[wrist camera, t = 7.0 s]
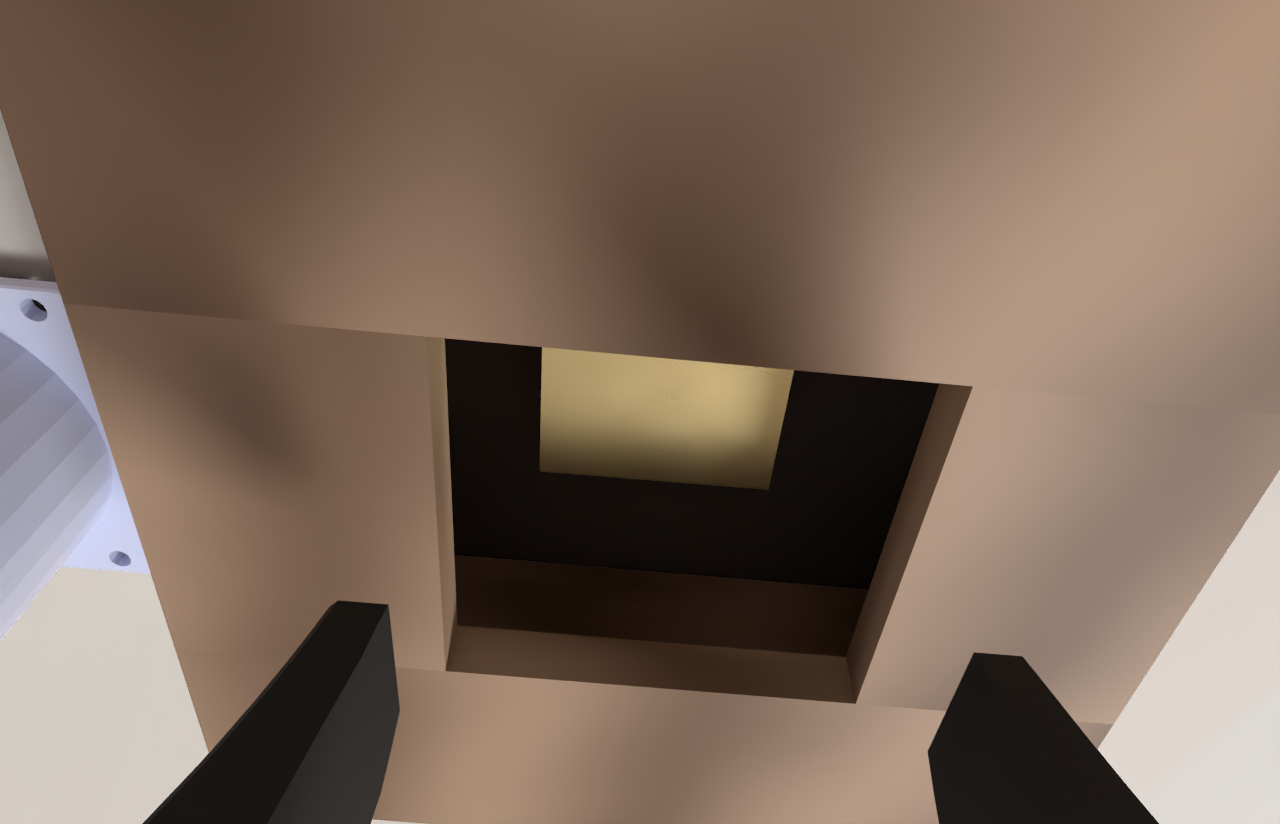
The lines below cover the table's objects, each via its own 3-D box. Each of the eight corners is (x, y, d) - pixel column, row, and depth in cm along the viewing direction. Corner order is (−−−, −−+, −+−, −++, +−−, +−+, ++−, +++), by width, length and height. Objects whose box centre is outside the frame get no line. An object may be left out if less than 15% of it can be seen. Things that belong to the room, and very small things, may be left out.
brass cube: (555, 387, 19) (539, 470, 17) (562, 194, 17) (543, 259, 14) (755, 404, 19) (768, 489, 17) (791, 214, 17) (813, 282, 14)
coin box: (331, 572, 22) (227, 808, 17) (215, -164, 13) (-85, -151, 8) (937, 622, 23) (1019, 867, 18) (1221, -56, 14) (1570, 26, 9)
